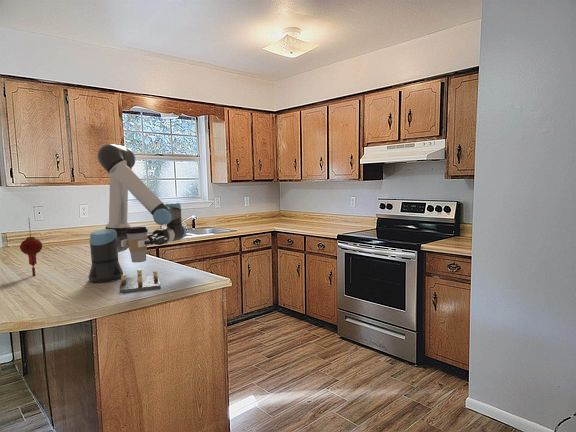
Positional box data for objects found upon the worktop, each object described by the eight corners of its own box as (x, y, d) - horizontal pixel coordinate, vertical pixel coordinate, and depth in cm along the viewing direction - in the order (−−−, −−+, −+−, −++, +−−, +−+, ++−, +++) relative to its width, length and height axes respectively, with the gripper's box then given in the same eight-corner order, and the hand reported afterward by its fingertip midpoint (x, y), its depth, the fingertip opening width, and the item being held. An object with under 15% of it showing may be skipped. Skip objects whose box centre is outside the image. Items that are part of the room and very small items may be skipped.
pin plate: (121, 282, 175) (120, 270, 175) (157, 278, 181) (157, 266, 181) (119, 293, 157) (119, 280, 156) (160, 288, 163) (159, 276, 162)
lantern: (19, 278, 188) (13, 218, 185) (28, 274, 197) (22, 216, 194) (40, 277, 189) (34, 217, 187) (48, 273, 199) (43, 216, 196)
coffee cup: (149, 262, 165) (147, 228, 164) (126, 264, 162) (123, 229, 161) (150, 258, 174) (148, 225, 173) (128, 260, 171) (125, 227, 170)
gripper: (181, 244, 181) (150, 253, 160) (145, 243, 188) (111, 252, 166) (181, 228, 181) (149, 235, 159) (144, 228, 187) (109, 235, 166)
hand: (130, 244), depth 163 cm, fingers closed on coffee cup, 8 cm apart
